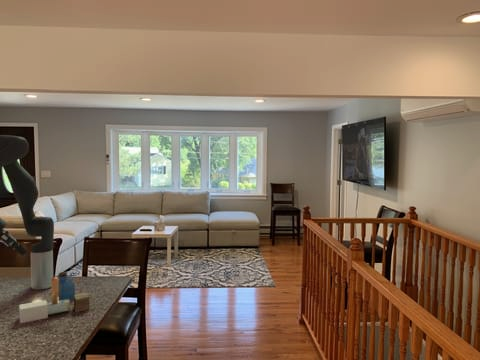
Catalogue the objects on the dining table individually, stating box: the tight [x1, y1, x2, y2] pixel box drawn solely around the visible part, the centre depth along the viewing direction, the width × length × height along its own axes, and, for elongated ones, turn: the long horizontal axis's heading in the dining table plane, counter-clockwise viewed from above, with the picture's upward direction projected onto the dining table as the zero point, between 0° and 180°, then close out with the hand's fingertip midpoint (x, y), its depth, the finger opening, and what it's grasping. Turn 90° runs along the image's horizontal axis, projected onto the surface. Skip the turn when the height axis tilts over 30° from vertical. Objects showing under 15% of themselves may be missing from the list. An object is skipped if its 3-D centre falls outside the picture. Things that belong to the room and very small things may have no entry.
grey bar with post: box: [47, 276, 71, 315], centre depth 140 cm, size 3×16×13 cm, turn 123°
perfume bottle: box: [58, 271, 76, 302], centre depth 155 cm, size 6×6×12 cm
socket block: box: [73, 292, 90, 313], centre depth 147 cm, size 5×5×5 cm
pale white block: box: [18, 299, 49, 324], centre depth 138 cm, size 5×9×5 cm, turn 123°
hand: (23, 251), depth 136 cm, fingers open, 8 cm apart
